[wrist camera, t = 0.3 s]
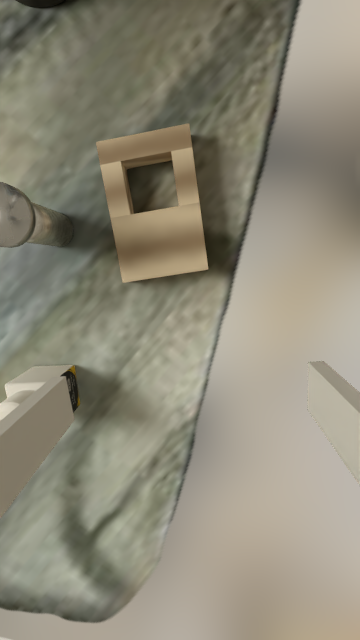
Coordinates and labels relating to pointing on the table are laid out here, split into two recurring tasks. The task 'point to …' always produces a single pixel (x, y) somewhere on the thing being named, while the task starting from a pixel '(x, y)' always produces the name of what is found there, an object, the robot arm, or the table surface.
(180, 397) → the table surface
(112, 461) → the table surface
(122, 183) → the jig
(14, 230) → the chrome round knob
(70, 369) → the medicine bottle
